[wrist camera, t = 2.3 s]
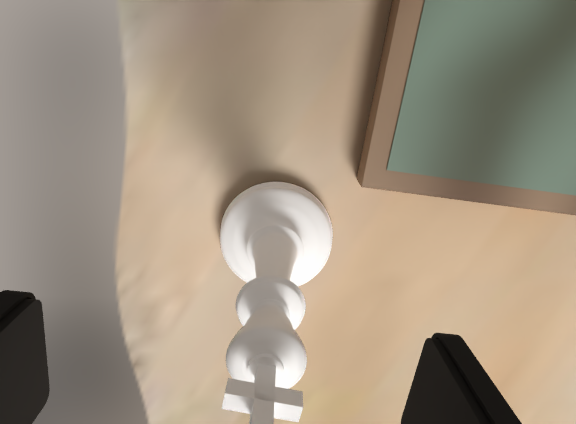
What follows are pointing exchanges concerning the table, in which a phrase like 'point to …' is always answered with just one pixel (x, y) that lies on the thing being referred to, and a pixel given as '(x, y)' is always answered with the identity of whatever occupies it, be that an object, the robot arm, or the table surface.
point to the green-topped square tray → (476, 103)
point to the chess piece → (271, 294)
